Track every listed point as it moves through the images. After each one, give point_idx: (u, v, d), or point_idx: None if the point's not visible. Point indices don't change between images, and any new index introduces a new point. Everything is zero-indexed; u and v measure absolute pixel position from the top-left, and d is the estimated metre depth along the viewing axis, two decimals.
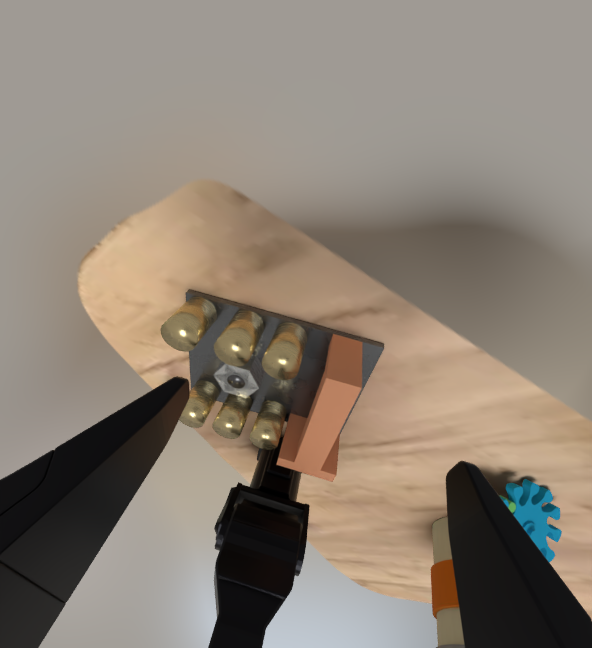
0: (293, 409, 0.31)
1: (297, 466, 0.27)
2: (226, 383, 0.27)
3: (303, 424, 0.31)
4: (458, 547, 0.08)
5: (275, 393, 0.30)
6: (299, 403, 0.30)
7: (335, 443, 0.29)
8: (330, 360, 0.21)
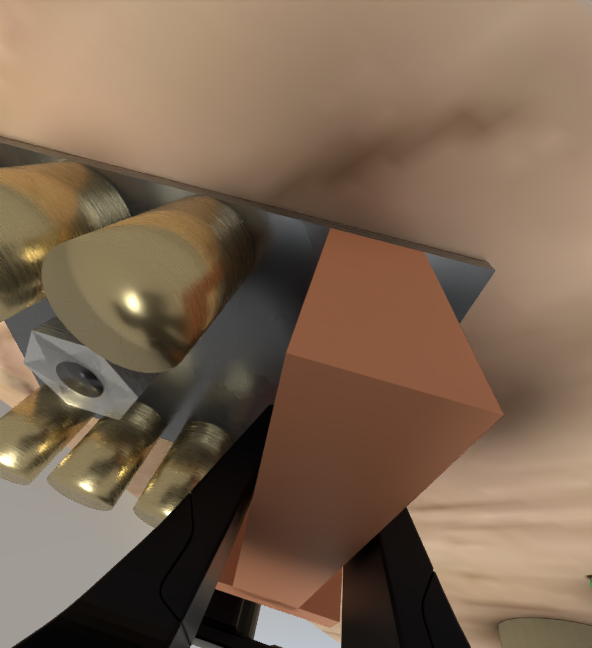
0: None
1: (241, 593, 0.11)
2: (62, 385, 0.11)
3: None
4: None
5: (204, 406, 0.14)
6: None
7: None
8: (317, 284, 0.05)
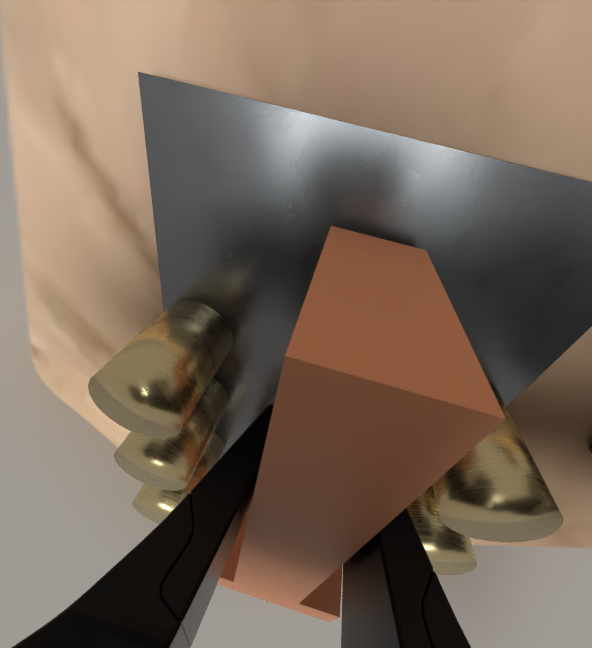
0: None
1: (242, 588, 0.11)
2: None
3: None
4: None
5: None
6: None
7: None
8: (317, 284, 0.05)
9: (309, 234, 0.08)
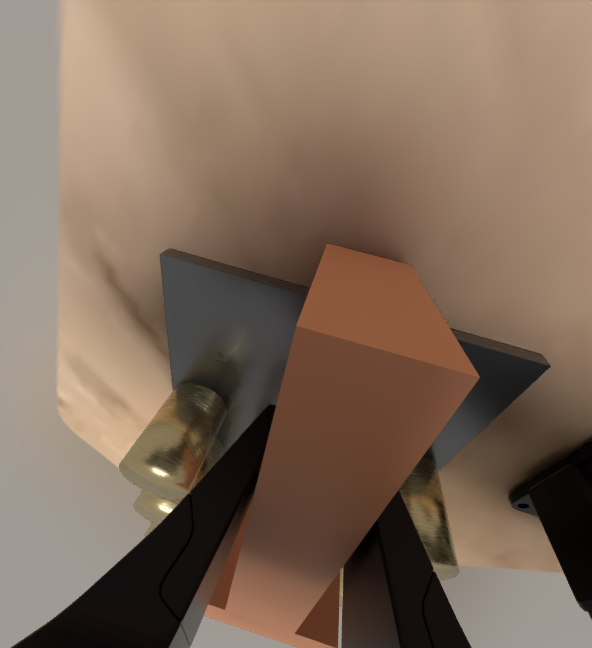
0: None
1: (234, 619, 0.10)
2: None
3: None
4: None
5: None
6: None
7: None
8: (318, 282, 0.06)
9: (283, 352, 0.11)
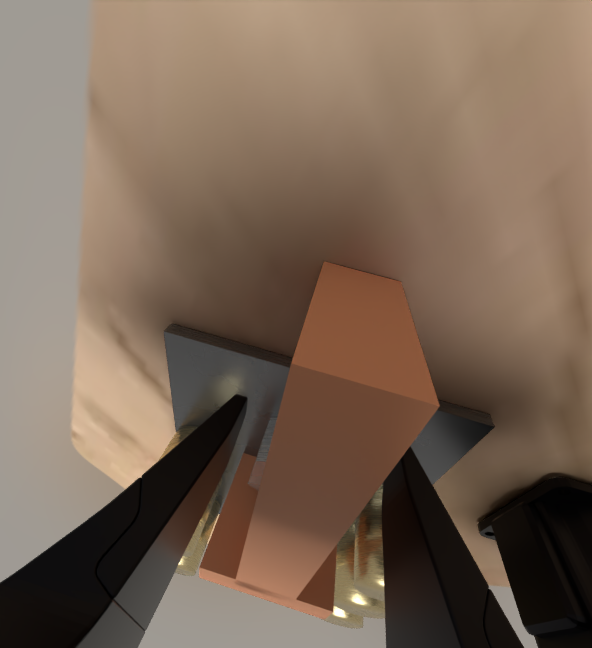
0: None
1: (243, 586, 0.12)
2: None
3: None
4: (387, 525, 0.08)
5: None
6: None
7: None
8: (313, 312, 0.06)
9: (270, 407, 0.13)
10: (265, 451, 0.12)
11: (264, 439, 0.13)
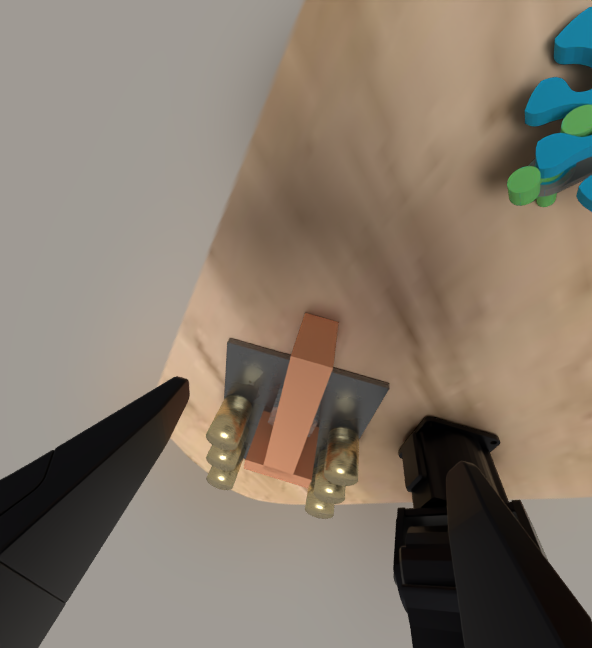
0: (340, 421, 0.26)
1: (267, 470, 0.24)
2: None
3: None
4: (458, 547, 0.08)
5: None
6: (327, 414, 0.26)
7: (312, 444, 0.26)
8: (298, 338, 0.18)
9: (280, 381, 0.25)
10: (277, 403, 0.24)
11: (277, 397, 0.25)
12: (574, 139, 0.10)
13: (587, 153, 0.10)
